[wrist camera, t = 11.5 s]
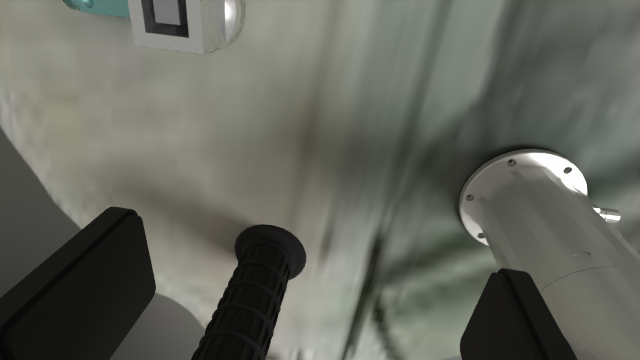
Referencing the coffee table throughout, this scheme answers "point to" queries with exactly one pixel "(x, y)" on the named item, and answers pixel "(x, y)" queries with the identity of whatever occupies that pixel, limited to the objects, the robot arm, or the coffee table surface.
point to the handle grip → (252, 295)
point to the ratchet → (165, 12)
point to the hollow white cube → (199, 36)
